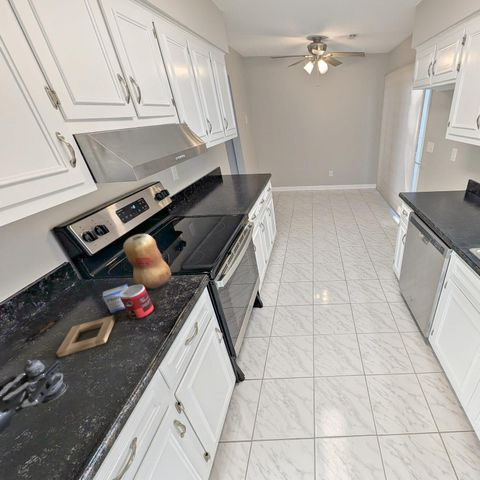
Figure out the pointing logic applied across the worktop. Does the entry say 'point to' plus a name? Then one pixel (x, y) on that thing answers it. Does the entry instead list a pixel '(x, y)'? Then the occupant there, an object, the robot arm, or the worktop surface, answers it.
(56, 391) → the grey tall rounded piece
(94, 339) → the wooden frame
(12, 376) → the robot arm
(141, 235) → the butternut squash
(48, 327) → the can opener
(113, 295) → the medicine box
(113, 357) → the worktop surface
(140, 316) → the canned food
